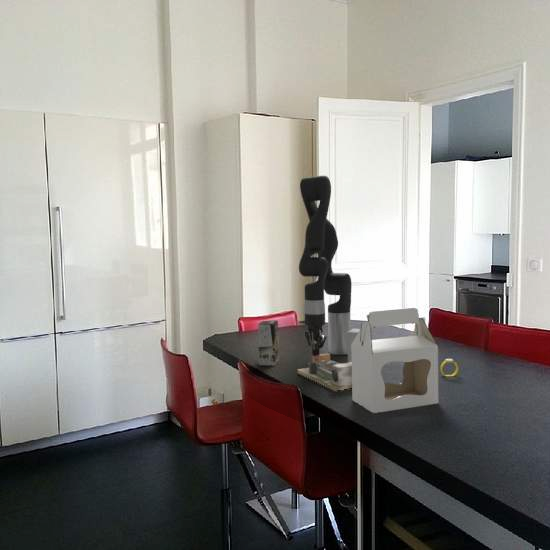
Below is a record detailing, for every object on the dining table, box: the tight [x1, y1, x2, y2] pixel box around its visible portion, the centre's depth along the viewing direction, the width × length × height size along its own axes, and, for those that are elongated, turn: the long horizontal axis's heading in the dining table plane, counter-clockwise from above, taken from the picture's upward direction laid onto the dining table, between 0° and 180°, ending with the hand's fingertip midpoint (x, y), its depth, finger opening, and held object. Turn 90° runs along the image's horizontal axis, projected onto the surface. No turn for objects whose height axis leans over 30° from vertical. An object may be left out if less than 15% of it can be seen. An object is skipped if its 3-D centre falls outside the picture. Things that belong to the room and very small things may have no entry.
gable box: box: [351, 307, 439, 414], centre depth 171 cm, size 22×13×28 cm, turn 109°
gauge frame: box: [297, 360, 352, 392], centre depth 199 cm, size 15×26×8 cm, turn 24°
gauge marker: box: [308, 362, 316, 374], centre depth 200 cm, size 2×1×4 cm, turn 114°
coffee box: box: [257, 320, 280, 367], centre depth 225 cm, size 9×6×16 cm
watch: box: [439, 358, 459, 378], centre depth 198 cm, size 6×3×6 cm, turn 94°
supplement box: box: [347, 328, 361, 363], centre depth 221 cm, size 7×7×13 cm
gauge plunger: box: [307, 352, 337, 371], centre depth 204 cm, size 10×6×5 cm, turn 114°
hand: (315, 358), depth 210 cm, fingers closed
